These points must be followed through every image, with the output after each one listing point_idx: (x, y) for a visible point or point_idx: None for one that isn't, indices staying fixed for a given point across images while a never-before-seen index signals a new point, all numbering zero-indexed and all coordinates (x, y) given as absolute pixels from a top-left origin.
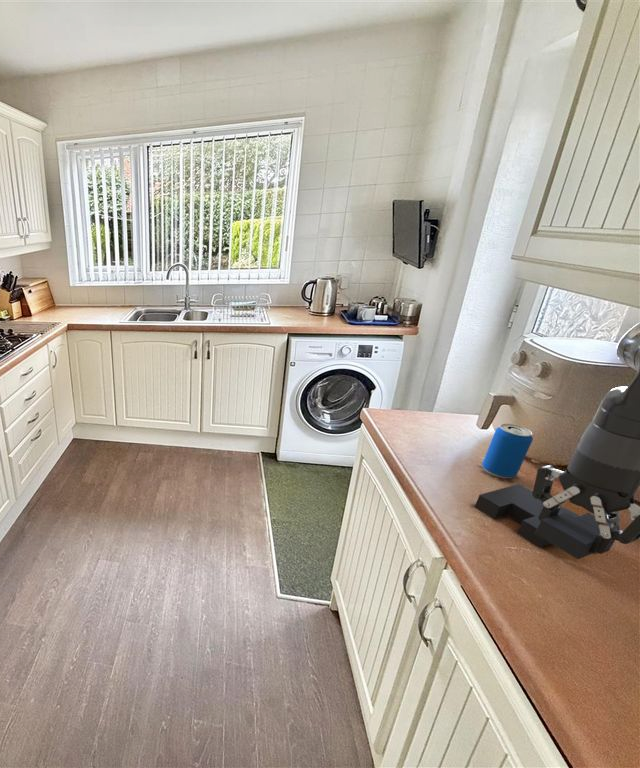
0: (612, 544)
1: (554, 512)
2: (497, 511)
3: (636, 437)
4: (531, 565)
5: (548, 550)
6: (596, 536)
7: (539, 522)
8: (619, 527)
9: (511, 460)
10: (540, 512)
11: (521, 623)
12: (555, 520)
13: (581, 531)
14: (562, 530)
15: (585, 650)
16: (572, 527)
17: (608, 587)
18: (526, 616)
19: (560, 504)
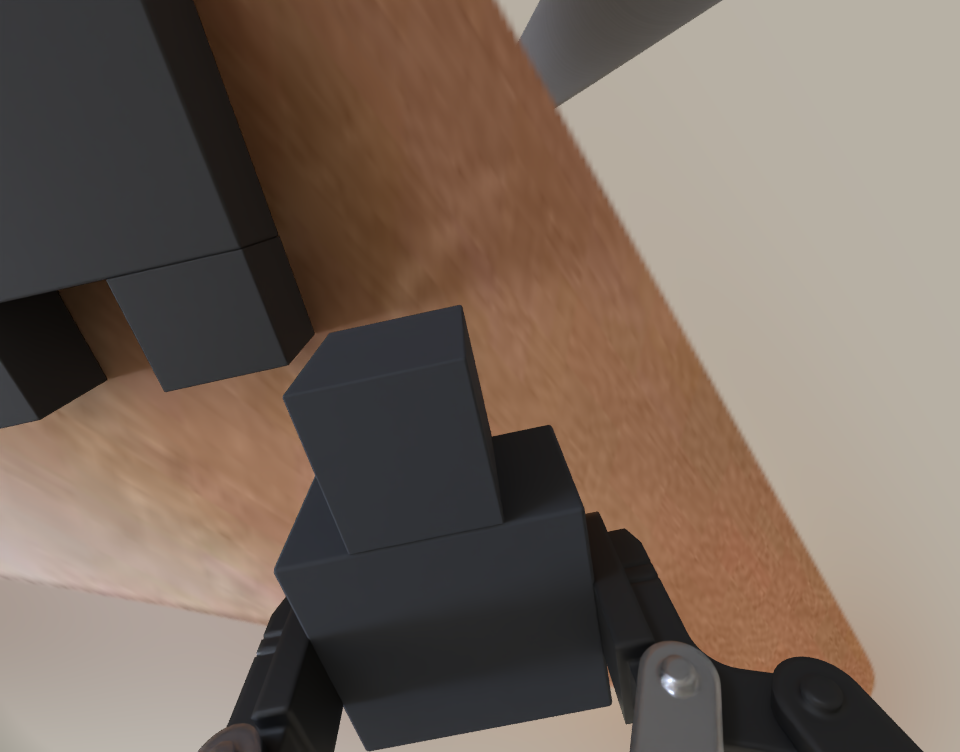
0: (666, 595)
1: (320, 716)
2: (67, 401)
3: None
4: None
5: (335, 314)
6: (621, 708)
7: (175, 313)
8: (721, 740)
9: None
10: (49, 203)
11: None
12: (380, 697)
13: (506, 642)
14: (479, 726)
15: (717, 578)
16: (462, 663)
17: (561, 265)
18: None
19: (260, 746)
